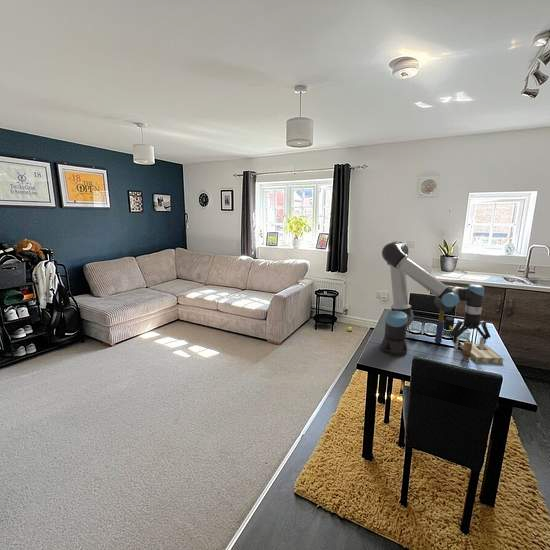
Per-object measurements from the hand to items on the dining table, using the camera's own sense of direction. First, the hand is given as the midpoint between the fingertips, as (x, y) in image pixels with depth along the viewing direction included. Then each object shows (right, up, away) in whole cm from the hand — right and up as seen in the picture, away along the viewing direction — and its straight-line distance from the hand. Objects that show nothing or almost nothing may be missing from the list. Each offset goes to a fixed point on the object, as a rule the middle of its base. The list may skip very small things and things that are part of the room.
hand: (468, 348), depth 169 cm
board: (+11, -5, +6) cm, 14 cm away
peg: (0, -7, +2) cm, 7 cm away
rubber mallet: (-5, -2, +22) cm, 23 cm away
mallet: (+9, 0, +31) cm, 32 cm away
